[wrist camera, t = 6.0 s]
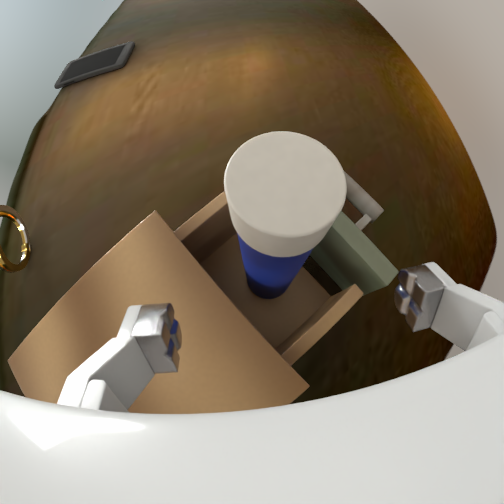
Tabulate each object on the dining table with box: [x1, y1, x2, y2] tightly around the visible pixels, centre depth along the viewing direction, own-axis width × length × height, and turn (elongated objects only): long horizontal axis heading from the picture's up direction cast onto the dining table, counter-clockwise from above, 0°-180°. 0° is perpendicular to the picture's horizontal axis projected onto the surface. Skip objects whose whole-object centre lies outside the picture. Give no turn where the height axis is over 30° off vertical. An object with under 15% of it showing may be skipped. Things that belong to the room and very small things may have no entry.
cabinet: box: [8, 211, 309, 414], centre depth 17 cm, size 16×13×9 cm
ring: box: [0, 205, 32, 273], centre depth 20 cm, size 7×3×8 cm, turn 15°
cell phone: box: [55, 42, 135, 89], centre depth 32 cm, size 7×14×1 cm, turn 91°
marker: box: [224, 131, 347, 299], centre depth 14 cm, size 3×3×14 cm
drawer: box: [174, 172, 398, 366], centre depth 19 cm, size 19×11×7 cm, turn 132°
